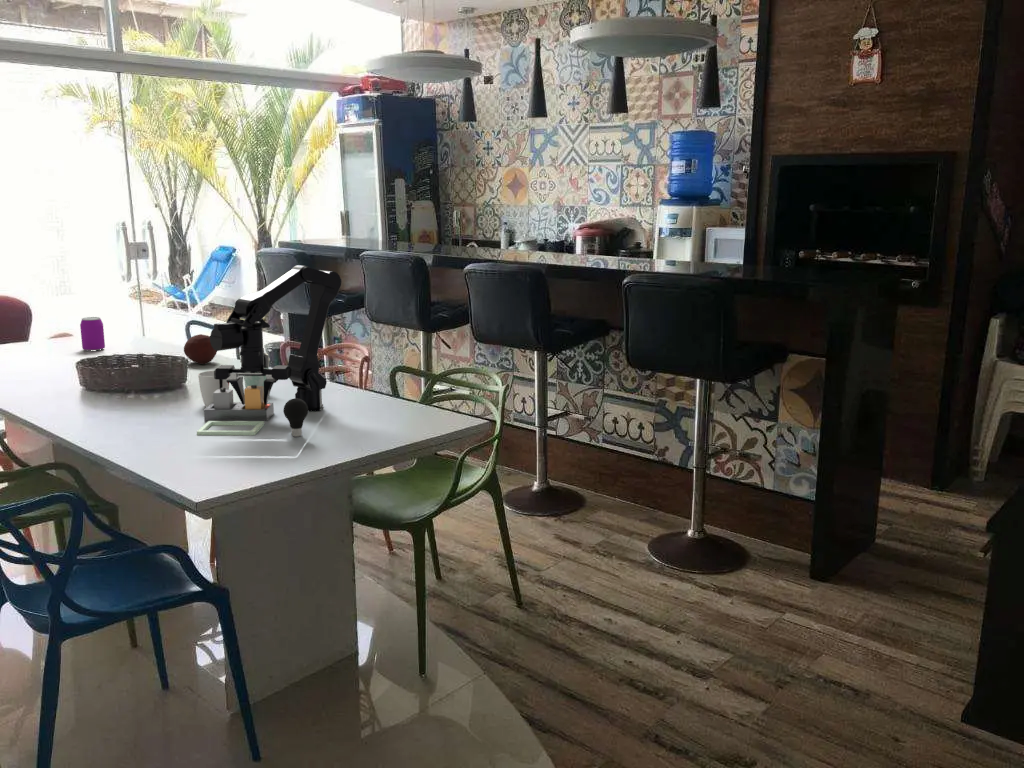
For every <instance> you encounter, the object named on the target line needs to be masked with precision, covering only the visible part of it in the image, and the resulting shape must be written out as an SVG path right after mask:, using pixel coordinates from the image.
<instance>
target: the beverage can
mask: <svg viewBox="0 0 1024 768" xmlns="http://www.w3.org/2000/svg"><path fill="white" fill-rule="evenodd" d="M79 327H80V329H79V330H80V337H81V347H82V350H83V351H85V352H92V351H91V350H100V349H103V348H104V349H105V348H106V344H105V331H104V323H103V321H102V319H101V317H99V316H95V317H94V316H86V317H82V318H81V320H80V324H79ZM104 349H103V350H104Z"/></svg>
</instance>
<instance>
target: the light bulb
mask: <svg viewBox="0 0 1024 768" xmlns="http://www.w3.org/2000/svg"><path fill="white" fill-rule="evenodd" d="M308 413H309V411H308V406H307V404H306V403H305V402H304V401H303V400H301V399H298V398H290V399H289V400H288V401H286V402H285V405H284V406H283V414H284V417H285V418H286V420H287V421H288V422H289V426H290V428H291V436H292V437H294V438H299V437H301V436H302V435H303V426H304V421H305V420H306V417H307V416H308Z"/></svg>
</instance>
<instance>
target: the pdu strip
mask: <svg viewBox="0 0 1024 768" xmlns="http://www.w3.org/2000/svg"><path fill="white" fill-rule="evenodd" d="M233 402H234V401H233ZM274 411H275V410H274V402H267V404H266V405H264V408H263V409H245V404H244V405H243V404H242V403H241V401H240V402H237V401H236V402H234V407H233V408H232V409H214V402H213V403H211V404H210V405H209V406H208V407H206V406H205V408H204V409H203V415H204V416H203V417H204V418H203V419H204V420H203V421H204V422H208V421H264V422H268V421H269V420H270V419H271V418H272V417H273V415H274V414H275V413H274Z"/></svg>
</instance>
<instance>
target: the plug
mask: <svg viewBox="0 0 1024 768" xmlns="http://www.w3.org/2000/svg"><path fill="white" fill-rule="evenodd" d="M244 395H245V409H263V408H264V386H257V385H251V386H248V387H245V388H244Z"/></svg>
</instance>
